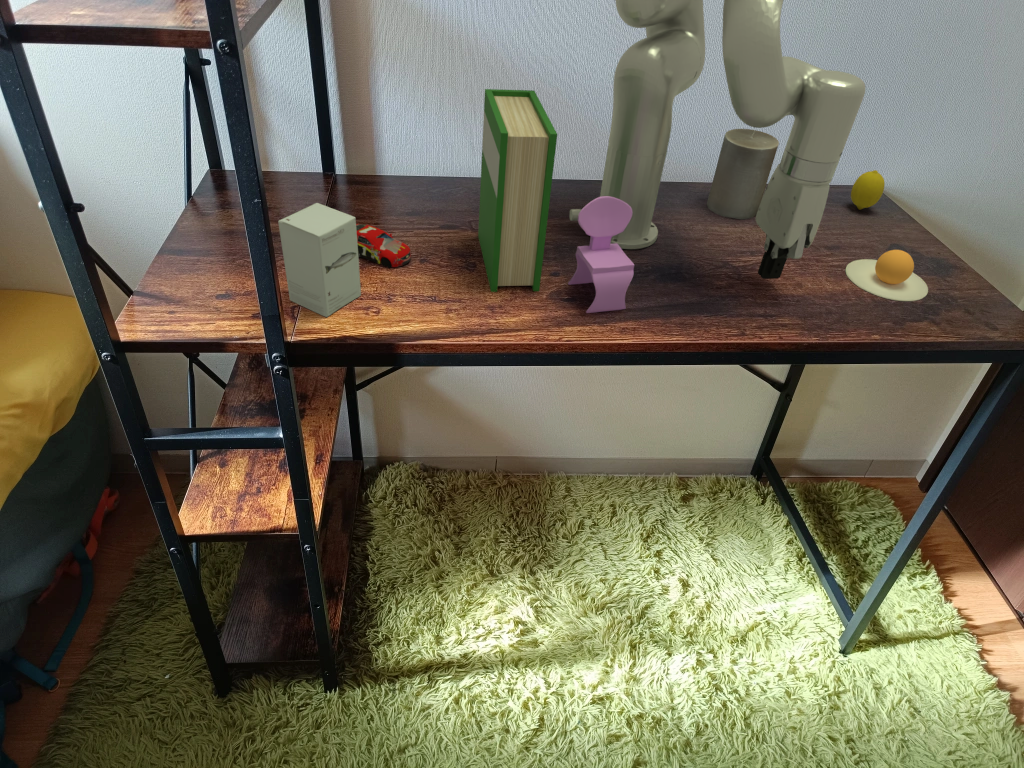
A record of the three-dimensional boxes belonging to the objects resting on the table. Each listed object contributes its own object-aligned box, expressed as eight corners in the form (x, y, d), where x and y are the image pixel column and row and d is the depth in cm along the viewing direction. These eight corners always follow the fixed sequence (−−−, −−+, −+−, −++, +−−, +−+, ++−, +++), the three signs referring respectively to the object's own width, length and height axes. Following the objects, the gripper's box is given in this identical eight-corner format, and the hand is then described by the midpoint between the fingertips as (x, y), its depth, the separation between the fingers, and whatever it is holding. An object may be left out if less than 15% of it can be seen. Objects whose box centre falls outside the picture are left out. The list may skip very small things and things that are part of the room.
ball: (916, 254, 109) (925, 277, 112) (896, 237, 113) (906, 259, 117) (882, 275, 111) (892, 296, 114) (864, 257, 115) (874, 278, 118)
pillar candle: (731, 194, 139) (752, 118, 129) (768, 214, 132) (793, 136, 123) (695, 202, 134) (714, 125, 125) (731, 224, 128) (754, 144, 119)
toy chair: (581, 315, 101) (596, 221, 92) (561, 284, 108) (574, 193, 98) (633, 310, 103) (653, 218, 94) (610, 279, 110) (627, 190, 100)
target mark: (873, 302, 110) (873, 301, 110) (830, 261, 120) (831, 260, 120) (944, 299, 112) (945, 298, 112) (897, 259, 122) (897, 258, 122)
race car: (418, 260, 111) (418, 237, 108) (397, 274, 107) (396, 251, 104) (353, 235, 115) (351, 213, 113) (331, 248, 111) (328, 225, 109)
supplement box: (327, 319, 96) (317, 236, 88) (288, 300, 99) (275, 219, 91) (363, 296, 101) (357, 216, 93) (325, 279, 104) (316, 200, 96)
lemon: (869, 204, 140) (885, 166, 134) (877, 217, 135) (895, 177, 130) (841, 201, 140) (857, 163, 135) (849, 213, 135) (865, 174, 130)
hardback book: (539, 291, 105) (557, 134, 90) (491, 292, 104) (501, 133, 89) (521, 235, 119) (534, 90, 103) (478, 235, 118) (484, 89, 102)
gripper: (760, 145, 104) (727, 253, 116) (809, 187, 93) (767, 302, 105) (805, 145, 106) (768, 252, 117) (859, 187, 95) (812, 301, 106)
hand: (768, 275), depth 111 cm, fingers closed
